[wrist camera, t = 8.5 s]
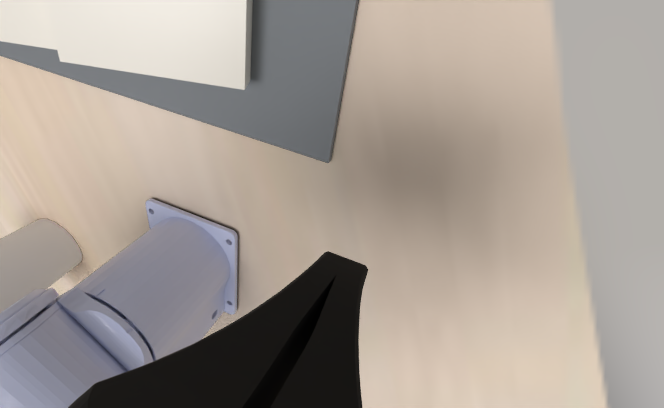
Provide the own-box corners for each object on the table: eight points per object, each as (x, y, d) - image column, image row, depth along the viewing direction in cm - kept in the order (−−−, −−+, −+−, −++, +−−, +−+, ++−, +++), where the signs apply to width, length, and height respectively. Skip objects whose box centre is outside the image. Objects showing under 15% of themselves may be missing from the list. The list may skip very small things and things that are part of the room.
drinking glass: (66, 218, 36) (-58, 290, 28) (96, 272, 39) (-7, 350, 31) (21, 211, 38) (-105, 276, 30) (53, 263, 41) (-53, 333, 33)
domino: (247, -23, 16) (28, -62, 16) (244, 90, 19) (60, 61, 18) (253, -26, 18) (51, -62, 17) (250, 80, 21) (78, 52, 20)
